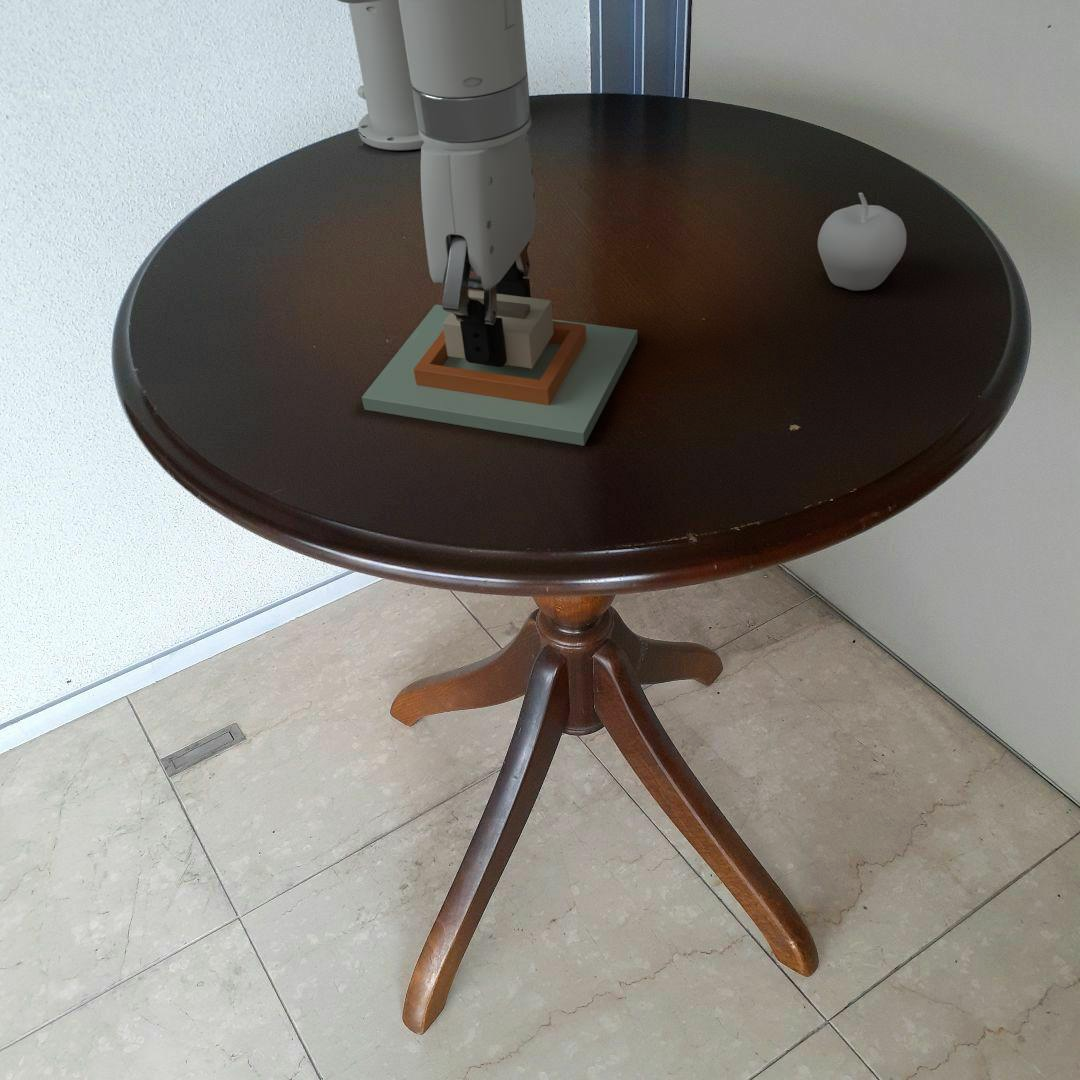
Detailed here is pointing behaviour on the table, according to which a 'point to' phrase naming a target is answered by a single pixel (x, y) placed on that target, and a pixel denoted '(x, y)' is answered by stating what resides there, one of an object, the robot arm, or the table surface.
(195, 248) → the table surface
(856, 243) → the plain white apple
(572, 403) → the board
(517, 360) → the block
